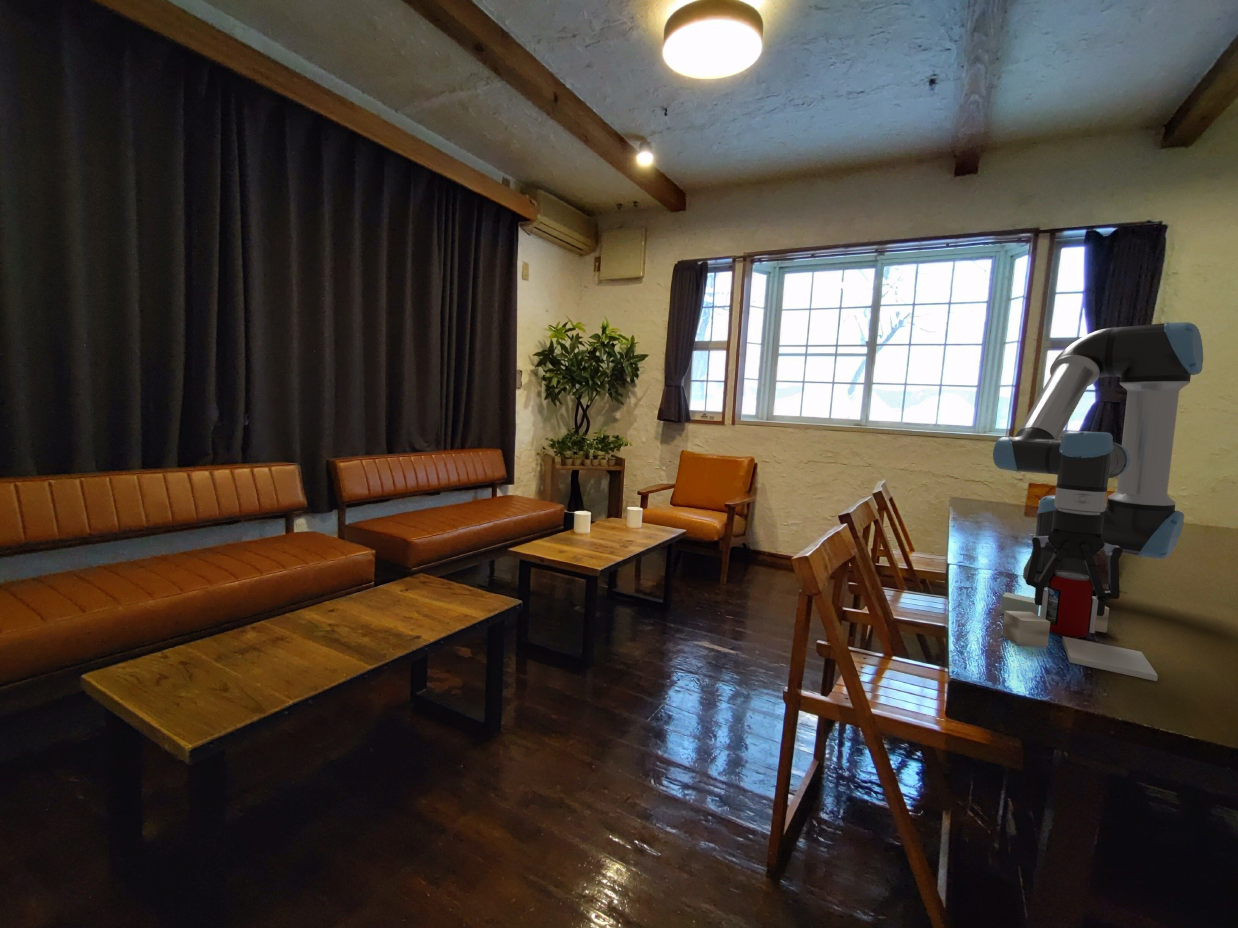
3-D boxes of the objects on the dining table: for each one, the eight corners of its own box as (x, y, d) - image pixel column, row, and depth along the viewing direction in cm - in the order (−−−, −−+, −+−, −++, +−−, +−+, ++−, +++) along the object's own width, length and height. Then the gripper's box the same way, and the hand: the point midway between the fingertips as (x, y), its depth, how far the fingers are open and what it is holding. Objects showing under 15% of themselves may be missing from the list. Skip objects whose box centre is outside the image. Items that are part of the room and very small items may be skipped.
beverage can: (1046, 623, 112) (1052, 567, 111) (1089, 634, 107) (1096, 574, 106) (1040, 632, 107) (1047, 573, 106) (1085, 643, 102) (1092, 581, 101)
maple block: (1002, 635, 105) (1004, 610, 105) (1029, 637, 105) (1031, 612, 104) (1019, 646, 100) (1021, 620, 100) (1047, 647, 100) (1050, 621, 100)
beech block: (1064, 620, 115) (1067, 597, 114) (1093, 623, 113) (1096, 600, 113) (1076, 628, 110) (1078, 604, 109) (1106, 632, 108) (1109, 608, 108)
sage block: (1004, 609, 120) (1006, 592, 120) (1038, 617, 116) (1040, 599, 116) (1000, 613, 117) (1002, 595, 117) (1035, 622, 113) (1036, 603, 113)
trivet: (1061, 641, 103) (1062, 636, 103) (1140, 657, 97) (1141, 651, 97) (1069, 662, 94) (1070, 656, 94) (1157, 681, 88) (1157, 675, 88)
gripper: (1016, 507, 107) (1005, 619, 109) (1153, 520, 96) (1138, 645, 98) (1014, 502, 113) (1004, 609, 115) (1143, 514, 102) (1129, 632, 105)
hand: (1065, 625), depth 107 cm, fingers closed on beverage can, 7 cm apart
